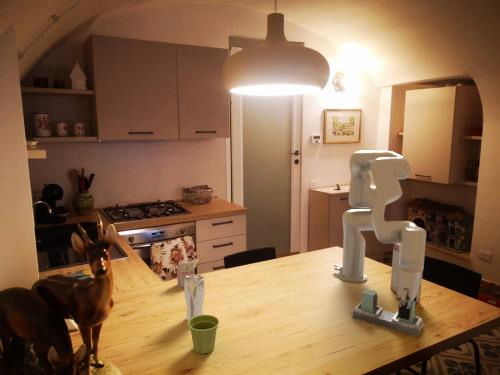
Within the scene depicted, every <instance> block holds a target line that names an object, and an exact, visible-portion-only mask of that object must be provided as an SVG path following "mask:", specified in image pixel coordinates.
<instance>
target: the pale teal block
mask: <svg viewBox="0 0 500 375" xmlns="http://www.w3.org/2000/svg"><path fill="white" fill-rule="evenodd" d="M400 302H401V300H400V301H399V303H398V309H397V310H398V311H397V312H398V316H399V306H400ZM406 302H407V304H408V301H406ZM415 303H416V301H411V302H410V306H409V308H410V318H409V320H406V319H402V318H399V320H400V321H403V322H407V323H410V324H412V323H413V322H414V316H416V315H415V312H416V308H415ZM416 304H417V303H416Z"/></svg>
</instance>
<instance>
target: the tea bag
mask: <svg viewBox="0 0 500 375" xmlns="http://www.w3.org/2000/svg"><path fill="white" fill-rule="evenodd" d="M176 271H177V272H176V273H177V279H176V281H177V282H176V283H177V287H178V289H181V288H183V289H184V285H185V277H187V276H189V275H196V274H195V263H194V262H193V261H192V262H181V263H177V269H176Z"/></svg>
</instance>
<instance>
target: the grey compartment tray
mask: <svg viewBox="0 0 500 375" xmlns="http://www.w3.org/2000/svg"><path fill="white" fill-rule="evenodd" d="M361 302H362V301H359V302H358V304H357V305H356V306H355V307H354V308H353V310H352V316H351V317H352V318H353V319H356V320H359V321H363V322H367V323H369V324H374V325H376V326H380V327H383V328H385V329H386V328H387V329H390V330H393V331H397V332H399V333H404V334H406V335H410V336H413V337H416V338H417V337H418V338H419V337H420V335H421V333H422V330H423V328H424V320H423V318H422V317H419V316H417V315H414V322H413V323H412V324H410V323H407V322H403V321H400V320H399V316H398V311H396V312H391V311H388V310H383V307H382V306H379V305H377V307H376V310H375V312H374V313H371V312H368V311H364V310H361Z"/></svg>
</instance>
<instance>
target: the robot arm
mask: <svg viewBox="0 0 500 375" xmlns="http://www.w3.org/2000/svg"><path fill="white" fill-rule="evenodd" d="M349 158H350V159H349V171H350V183H349V190H348V191H349V192H348V204H349V205H350V206H351V207H352V209H348V210H345V211H344V212H343V214H342V216H341V217H342V219H341V220H342V221H341V222H342V229H343V242H342V243H343V246H342V264H341V265H339V264H334V265H333V269H334V270H335V271H339V272H338V278H339V279H340V280H343V281H345V282H349V283H362V282H365V281H367V280H368V276H367V274H366V273H365V257H366V255H365V253H366V239H365V237H364V235H363V234H362V233H361V231H363V232H365V231H373V232H374V235H375V237H376V239H377V240H378V242H380V243H382V244H394V243H400V255H399V268H400V269H401V271H400V277H399V284H398V293H397V294H396V297H397V299H400V301H401V302H400V301H399V303H400V306H399V305H398V308H399V318H402V319H406V320H409V318H410V308H409V306H410V302H411V301H416V299H417V297H416V295H417V293H418V288H419V276H420V272H422V271H424V265H425V252H426V244H427V243H426V241H427V231H426V230H425V228H422V227H419V226H418V225H417V224H416V223H415V222H413V221H409V220H394V221H393V220H391V221H386V220H385V217H384V216H385V209H386V206H387V205H389V204H391V203H393V202H395V201H398V199H400V198H401V197H402V195H403V189H402V186H401V184H400V181H399V180H406V179H407V178H408V177H409V176H410V175H411V164H410V162H409V160H408V159H407V158H406V157H404V156H403V155H400V154H398V153H396V152H394V151H392V150H391V151H390V150H358V151H354V152H353V153H352V154H351V155H350V157H349ZM372 180H373V184H374V185H372ZM353 208H355V209H353ZM356 208H357V209H356ZM422 273H423V272H422ZM406 301H408V304H407V302H406ZM416 308H417V303H415V309H416Z"/></svg>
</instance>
